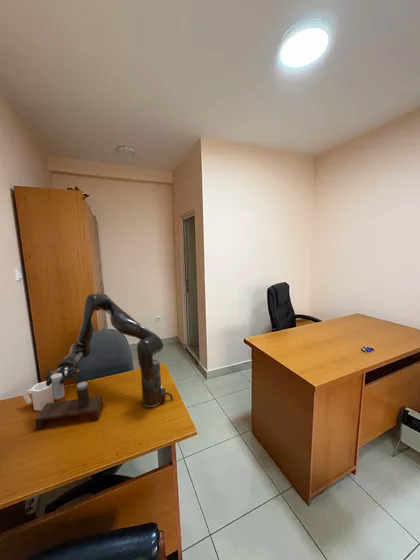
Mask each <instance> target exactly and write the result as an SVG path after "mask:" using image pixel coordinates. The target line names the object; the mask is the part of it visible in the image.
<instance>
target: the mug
mask: <svg viewBox="0 0 420 560" xmlns="http://www.w3.org/2000/svg"><path fill="white" fill-rule="evenodd" d="M30 393H31V398H32V399H31V398H30V395H29V394H30ZM22 398H23V400H24V401H25V403H26V405H29V404H30V403H32V405H33V411H39V412H41V410H42V409H43V408H44V406H45V405H46V404H47V403H54V402H55V399H53V393H52V385H50V386H47V385H46V380H45V381H42V382H38V383H36V384H35V385H33V386H32V387H31V388H29V389H27V391H26V392H25V393H24V394H23V396H22Z"/></svg>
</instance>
